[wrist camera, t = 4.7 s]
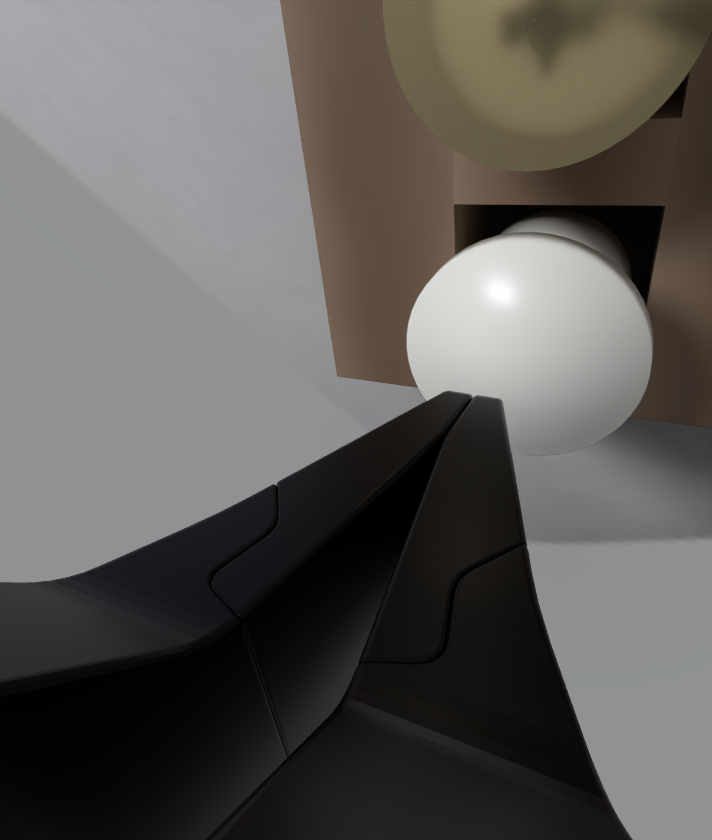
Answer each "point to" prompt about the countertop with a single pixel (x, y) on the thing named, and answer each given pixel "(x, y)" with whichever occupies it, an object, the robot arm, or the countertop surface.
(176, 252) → the countertop surface
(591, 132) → the brass knob
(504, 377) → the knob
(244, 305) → the countertop surface
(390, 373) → the control panel
